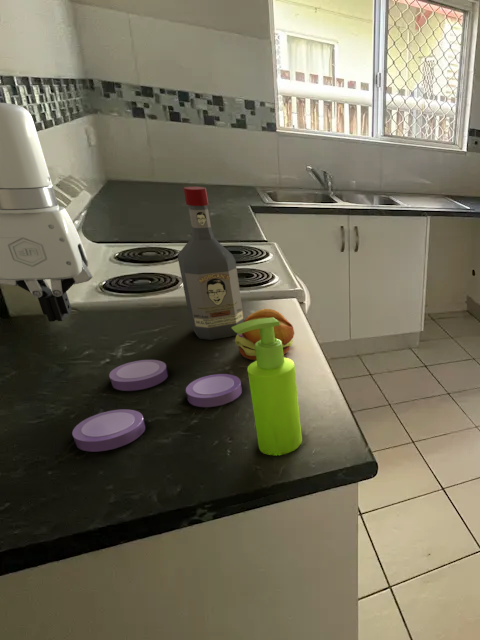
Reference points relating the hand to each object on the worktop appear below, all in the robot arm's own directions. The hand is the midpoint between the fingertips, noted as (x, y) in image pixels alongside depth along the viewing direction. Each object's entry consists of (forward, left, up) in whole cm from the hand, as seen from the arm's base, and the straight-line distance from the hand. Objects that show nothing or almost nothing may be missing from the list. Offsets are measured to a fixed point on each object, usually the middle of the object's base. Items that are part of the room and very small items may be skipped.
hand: (59, 317), depth 74 cm
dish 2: (+8, 0, -12) cm, 15 cm away
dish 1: (+8, -17, -12) cm, 22 cm away
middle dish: (+20, -8, -12) cm, 25 cm away
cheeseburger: (+28, +7, -13) cm, 32 cm away
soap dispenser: (+30, -25, -13) cm, 41 cm away
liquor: (+18, +20, -13) cm, 30 cm away
